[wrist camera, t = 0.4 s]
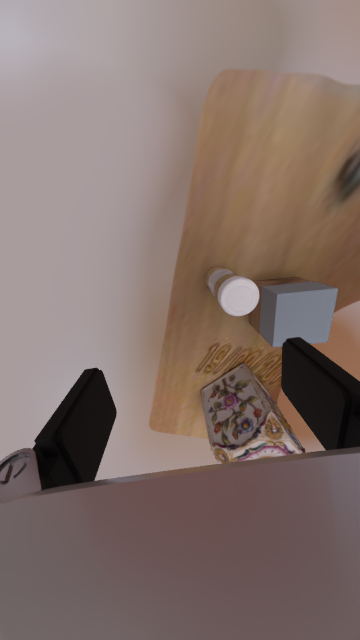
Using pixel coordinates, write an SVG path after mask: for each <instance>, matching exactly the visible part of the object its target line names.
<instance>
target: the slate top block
mask: <svg viewBox="0 0 360 640" xmlns="http://www.w3.org/2000/svg"><path fill="white" fill-rule="evenodd" d="M337 293H338V288H336V287H332V286H329V285H325V284H322V283H318V282H314V281H311V282H301V283H291V284H281V285H271V286H262V293H261V311H260V329H259V333H260V334H261V335H262V336H263V337H264V339H265V340H266V341H267V342H268V343H269V344H270V345H271V346H272V347H282V345H283V342H286V339H287V338H294V337H301V338H302V339H304V340H305V341H306V342H308V343H309V344H314V343H324V342H328V338H329V333H330V328H331V323H332V318H333V313H334V308H335V303H336V298H337Z"/></svg>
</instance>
